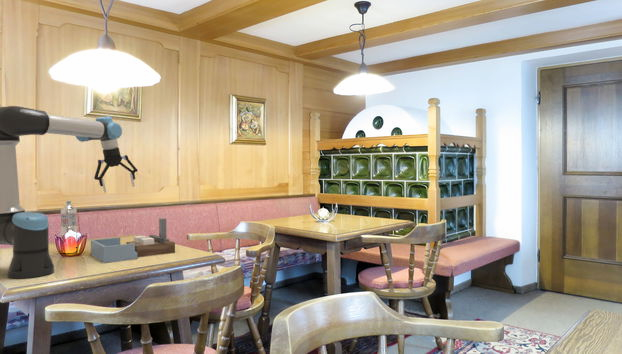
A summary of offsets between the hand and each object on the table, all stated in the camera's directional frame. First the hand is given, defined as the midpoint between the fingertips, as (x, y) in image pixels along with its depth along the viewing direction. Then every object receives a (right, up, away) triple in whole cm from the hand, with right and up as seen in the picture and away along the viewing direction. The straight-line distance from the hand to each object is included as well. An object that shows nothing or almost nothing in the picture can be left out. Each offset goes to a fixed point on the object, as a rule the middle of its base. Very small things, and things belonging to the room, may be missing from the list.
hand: (119, 189), depth 226 cm
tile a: (+20, -26, -15) cm, 35 cm away
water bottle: (-20, -31, -10) cm, 38 cm away
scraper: (+23, -25, -7) cm, 35 cm away
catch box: (+6, -31, -21) cm, 37 cm away
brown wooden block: (+19, -30, -10) cm, 37 cm away
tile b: (+14, -25, -9) cm, 31 cm away
